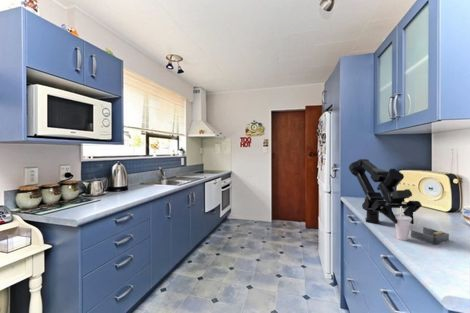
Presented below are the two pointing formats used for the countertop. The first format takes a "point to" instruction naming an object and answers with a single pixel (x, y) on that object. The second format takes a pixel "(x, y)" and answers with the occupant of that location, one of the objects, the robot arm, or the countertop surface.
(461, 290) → the countertop surface
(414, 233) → the bracket
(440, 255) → the countertop surface
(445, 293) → the countertop surface
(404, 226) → the smoothie
